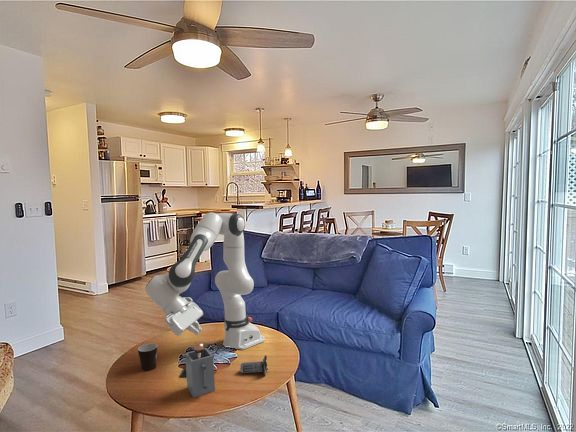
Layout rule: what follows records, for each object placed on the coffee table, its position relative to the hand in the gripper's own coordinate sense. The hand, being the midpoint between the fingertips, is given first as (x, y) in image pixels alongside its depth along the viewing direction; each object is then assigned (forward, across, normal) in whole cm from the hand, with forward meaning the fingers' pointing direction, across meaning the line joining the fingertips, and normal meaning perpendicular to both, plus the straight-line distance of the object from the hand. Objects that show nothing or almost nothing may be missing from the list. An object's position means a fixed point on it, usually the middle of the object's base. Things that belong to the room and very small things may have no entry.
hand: (199, 332), depth 147 cm
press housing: (+17, -1, +17) cm, 24 cm away
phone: (+9, +15, +26) cm, 32 cm away
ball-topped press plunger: (+13, 0, +14) cm, 19 cm away
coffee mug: (-6, +15, +41) cm, 44 cm away
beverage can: (+30, +16, +5) cm, 35 cm away
